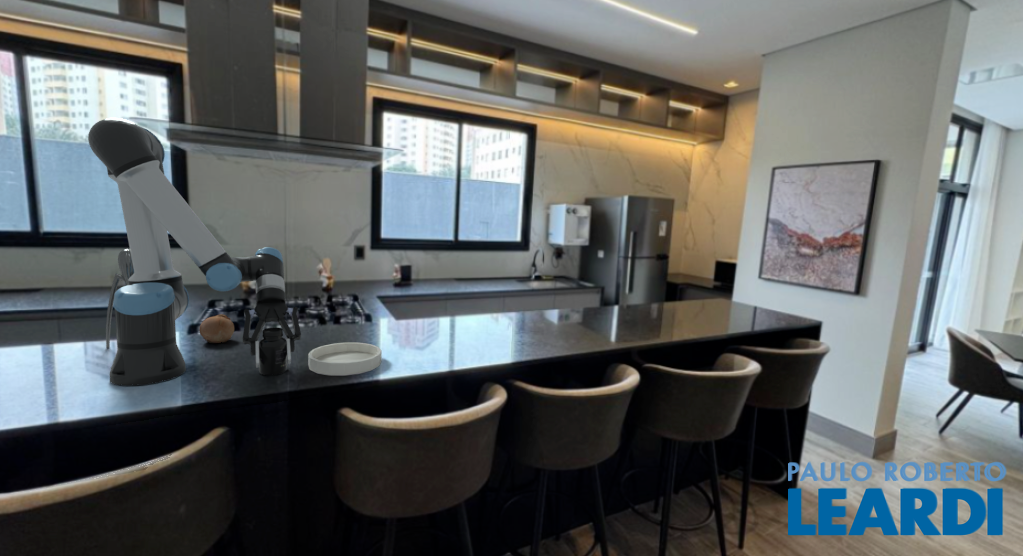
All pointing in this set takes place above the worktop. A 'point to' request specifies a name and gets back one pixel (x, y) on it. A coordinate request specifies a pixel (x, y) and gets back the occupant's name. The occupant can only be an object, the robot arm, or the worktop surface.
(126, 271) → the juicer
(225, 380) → the worktop surface
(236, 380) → the worktop surface
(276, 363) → the supplement bottle
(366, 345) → the round tray
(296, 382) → the worktop surface
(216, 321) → the onion
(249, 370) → the worktop surface
